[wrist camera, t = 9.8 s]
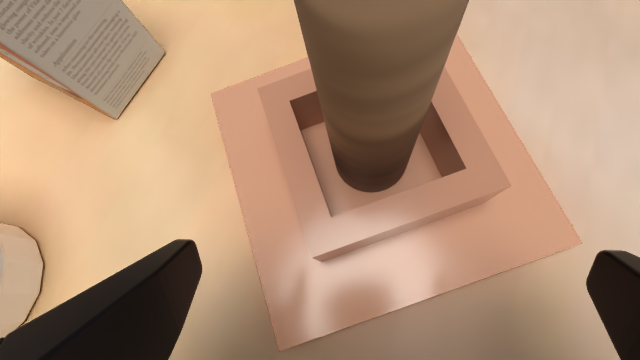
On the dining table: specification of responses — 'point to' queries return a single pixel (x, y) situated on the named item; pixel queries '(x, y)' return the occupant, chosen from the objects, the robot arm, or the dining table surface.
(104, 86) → the small box
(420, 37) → the thick brown pillar
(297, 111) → the pink square stand base
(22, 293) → the white cup
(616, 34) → the dining table surface
